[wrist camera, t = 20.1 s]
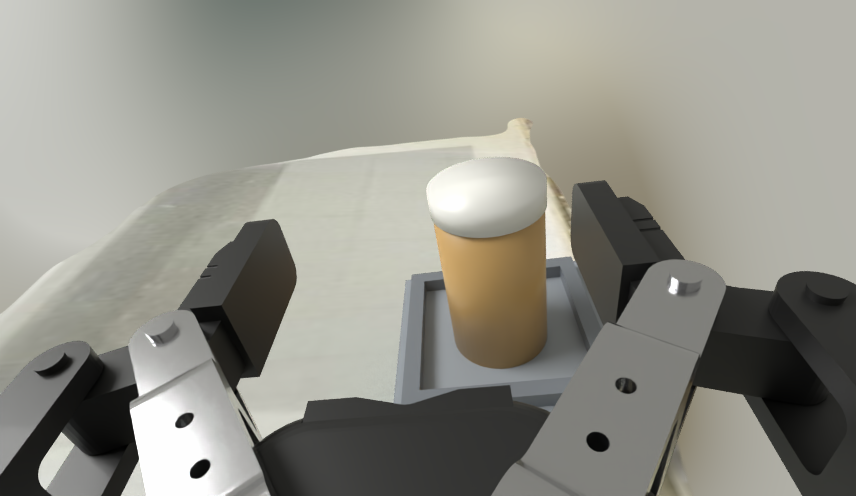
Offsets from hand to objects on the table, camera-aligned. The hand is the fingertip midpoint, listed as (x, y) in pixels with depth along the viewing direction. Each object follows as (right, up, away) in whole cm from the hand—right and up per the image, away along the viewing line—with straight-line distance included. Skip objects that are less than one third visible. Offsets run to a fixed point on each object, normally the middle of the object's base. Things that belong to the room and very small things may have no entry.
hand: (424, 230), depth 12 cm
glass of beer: (+5, -6, +17) cm, 19 cm away
